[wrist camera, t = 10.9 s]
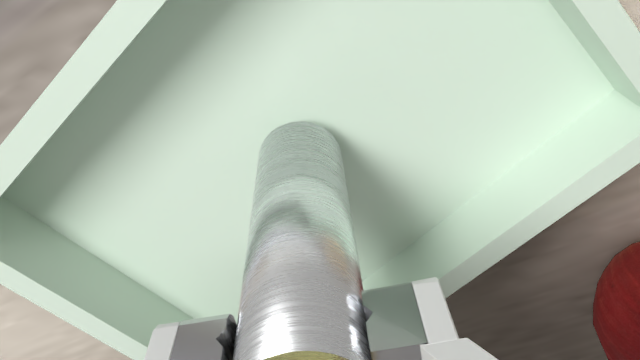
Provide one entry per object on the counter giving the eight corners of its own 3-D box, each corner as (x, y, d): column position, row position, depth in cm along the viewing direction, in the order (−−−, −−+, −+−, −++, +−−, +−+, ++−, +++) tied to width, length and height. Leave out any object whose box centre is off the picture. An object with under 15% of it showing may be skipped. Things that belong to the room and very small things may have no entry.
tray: (369, -296, 13) (389, -337, 10) (639, 82, 18) (699, 120, 15) (-25, 187, 18) (-77, 240, 16) (261, 367, 23) (257, 430, 21)
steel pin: (333, 113, 16) (376, 391, 8) (348, 186, 18) (399, 495, 9) (248, 130, 17) (197, 421, 8) (269, 201, 18) (245, 519, 9)
